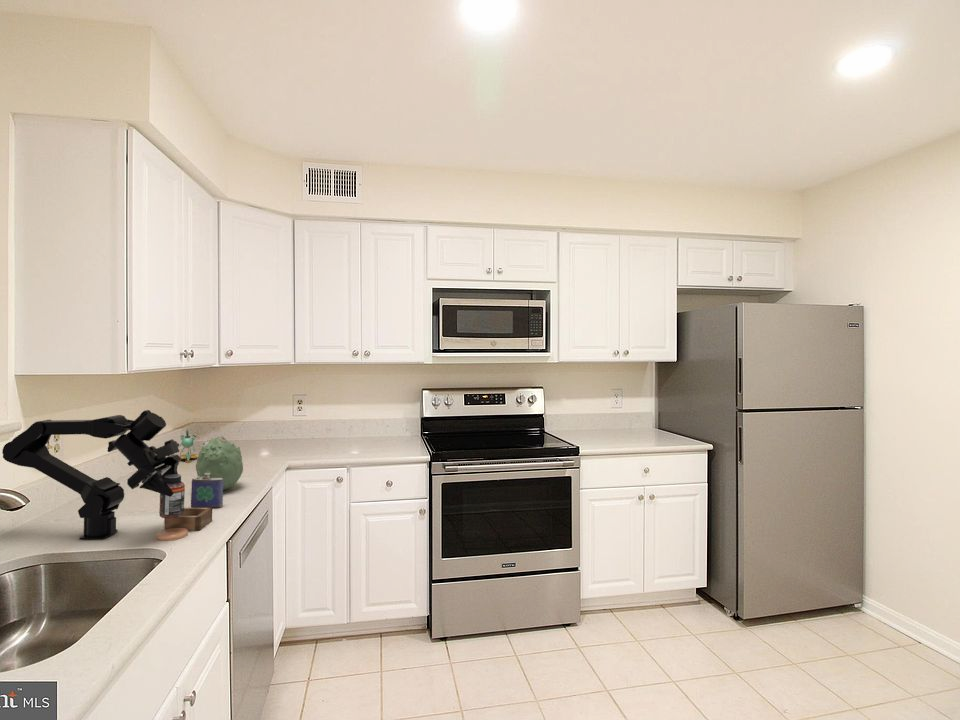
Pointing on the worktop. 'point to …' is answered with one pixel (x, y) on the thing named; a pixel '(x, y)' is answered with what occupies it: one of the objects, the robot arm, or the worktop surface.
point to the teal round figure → (187, 443)
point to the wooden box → (190, 519)
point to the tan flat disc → (171, 534)
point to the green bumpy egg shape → (220, 461)
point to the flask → (207, 492)
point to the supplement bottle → (173, 498)
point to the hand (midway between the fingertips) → (177, 492)
